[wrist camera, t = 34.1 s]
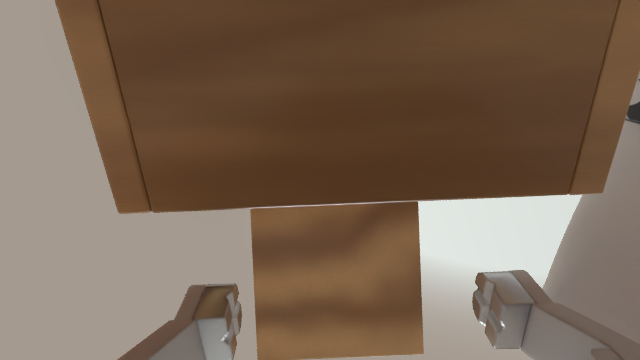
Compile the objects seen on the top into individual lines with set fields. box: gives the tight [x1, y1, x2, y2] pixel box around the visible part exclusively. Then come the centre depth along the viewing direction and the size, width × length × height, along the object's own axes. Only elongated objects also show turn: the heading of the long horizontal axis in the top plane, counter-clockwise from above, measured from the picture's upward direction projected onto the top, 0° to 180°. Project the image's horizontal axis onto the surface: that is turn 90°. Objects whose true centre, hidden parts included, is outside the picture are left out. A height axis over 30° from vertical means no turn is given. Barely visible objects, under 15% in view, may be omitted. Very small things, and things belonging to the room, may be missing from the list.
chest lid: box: [250, 201, 424, 360], centre depth 30 cm, size 21×13×5 cm
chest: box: [55, 0, 640, 214], centre depth 17 cm, size 20×13×10 cm, turn 179°
